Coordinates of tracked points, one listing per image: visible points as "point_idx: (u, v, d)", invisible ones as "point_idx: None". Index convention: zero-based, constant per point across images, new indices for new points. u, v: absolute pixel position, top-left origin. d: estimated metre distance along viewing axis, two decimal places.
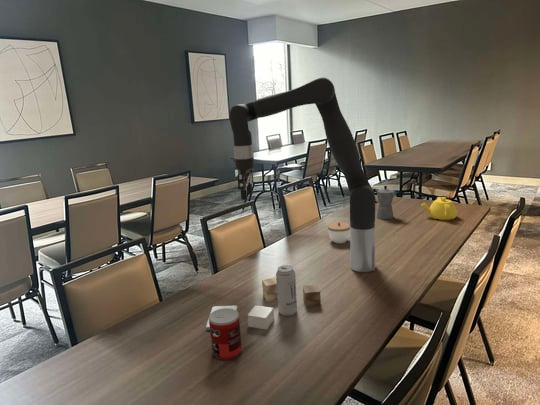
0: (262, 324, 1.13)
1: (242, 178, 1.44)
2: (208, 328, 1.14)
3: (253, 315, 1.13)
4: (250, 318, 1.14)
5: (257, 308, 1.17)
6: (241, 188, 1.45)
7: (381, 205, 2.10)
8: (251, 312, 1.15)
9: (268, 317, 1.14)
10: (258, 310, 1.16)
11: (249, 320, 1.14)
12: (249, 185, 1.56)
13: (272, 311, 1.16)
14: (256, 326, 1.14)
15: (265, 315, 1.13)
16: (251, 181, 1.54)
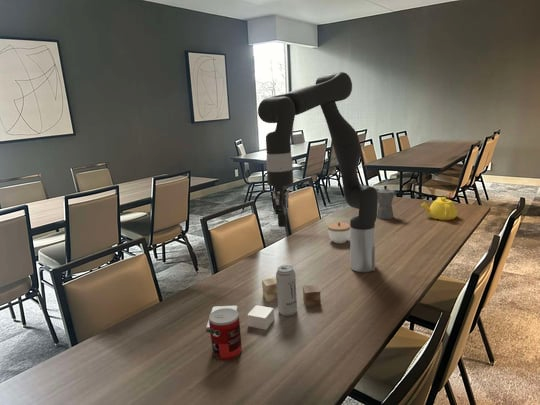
0: (261, 324, 1.13)
1: (280, 204, 1.07)
2: (209, 328, 1.14)
3: (252, 315, 1.13)
4: (249, 318, 1.14)
5: (257, 308, 1.17)
6: (279, 212, 1.10)
7: (381, 205, 2.10)
8: (251, 312, 1.15)
9: (268, 317, 1.13)
10: (258, 310, 1.16)
11: (249, 320, 1.14)
12: None
13: (272, 311, 1.16)
14: (256, 326, 1.14)
15: (265, 315, 1.13)
16: (287, 203, 1.13)
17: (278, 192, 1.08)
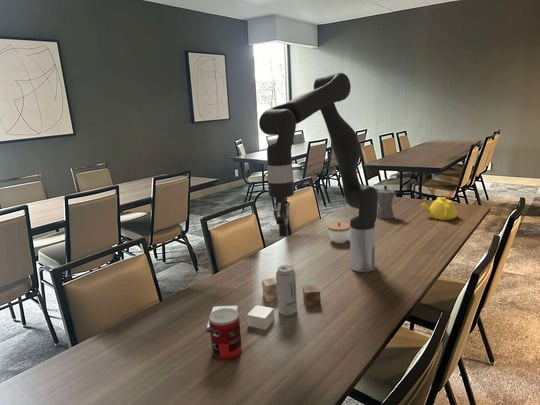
0: (261, 324, 1.13)
1: (281, 216, 1.08)
2: (209, 328, 1.14)
3: (252, 315, 1.13)
4: (249, 318, 1.14)
5: (257, 308, 1.17)
6: (281, 222, 1.11)
7: (381, 205, 2.10)
8: (251, 312, 1.15)
9: (268, 317, 1.13)
10: (259, 310, 1.16)
11: (249, 320, 1.14)
12: None
13: (272, 311, 1.16)
14: (256, 326, 1.14)
15: (265, 315, 1.13)
16: (287, 214, 1.14)
17: (279, 204, 1.09)
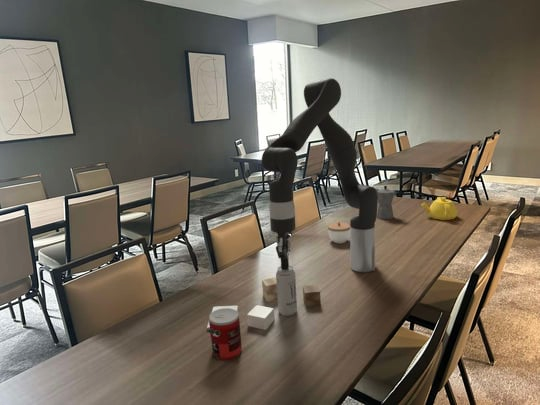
0: (261, 324, 1.13)
1: (283, 251, 1.11)
2: (209, 328, 1.14)
3: (252, 315, 1.13)
4: (249, 318, 1.14)
5: (257, 308, 1.17)
6: (282, 257, 1.14)
7: (381, 205, 2.10)
8: (251, 312, 1.15)
9: (267, 317, 1.13)
10: (259, 310, 1.16)
11: (249, 320, 1.14)
12: None
13: (272, 311, 1.16)
14: (255, 326, 1.14)
15: (264, 315, 1.13)
16: (289, 248, 1.16)
17: (281, 239, 1.12)
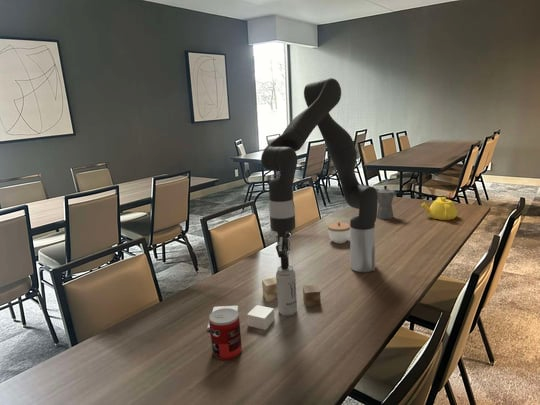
0: (261, 324, 1.13)
1: (283, 250, 1.11)
2: None
3: (252, 315, 1.13)
4: (249, 317, 1.14)
5: (258, 308, 1.17)
6: (282, 256, 1.14)
7: (381, 205, 2.10)
8: (251, 312, 1.15)
9: (267, 317, 1.13)
10: (259, 310, 1.16)
11: (249, 319, 1.14)
12: None
13: (272, 312, 1.16)
14: (255, 326, 1.14)
15: (264, 315, 1.13)
16: (289, 247, 1.16)
17: (281, 238, 1.12)
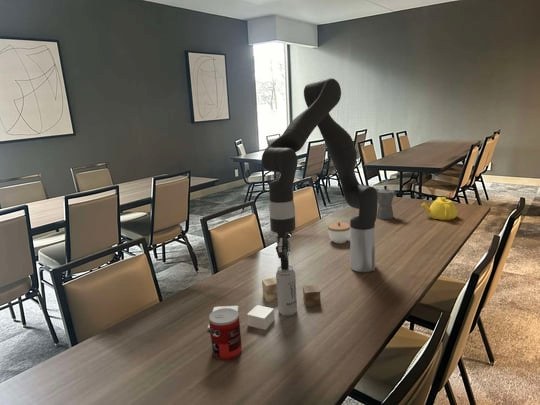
0: (260, 324, 1.13)
1: (283, 251, 1.11)
2: None
3: (252, 315, 1.14)
4: (249, 317, 1.14)
5: (258, 308, 1.17)
6: (282, 257, 1.14)
7: (381, 205, 2.10)
8: (251, 311, 1.16)
9: (267, 318, 1.13)
10: (259, 310, 1.16)
11: (248, 319, 1.15)
12: None
13: (272, 312, 1.16)
14: (255, 326, 1.14)
15: (264, 315, 1.13)
16: (289, 248, 1.16)
17: (281, 239, 1.12)
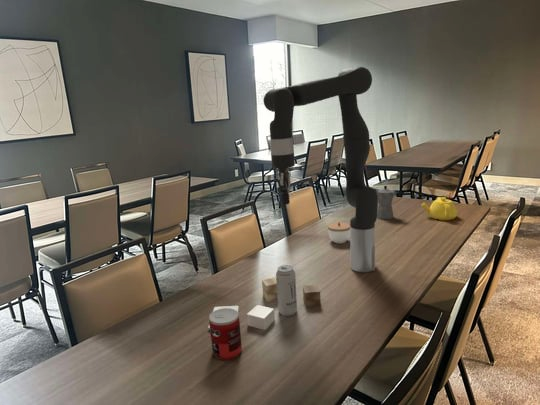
0: (260, 324, 1.13)
1: (284, 184, 1.21)
2: None
3: (252, 315, 1.14)
4: (249, 317, 1.14)
5: (258, 308, 1.17)
6: (284, 191, 1.24)
7: (381, 205, 2.10)
8: (251, 311, 1.16)
9: (267, 318, 1.13)
10: (259, 310, 1.16)
11: (248, 319, 1.15)
12: None
13: (272, 312, 1.16)
14: (255, 326, 1.14)
15: (264, 315, 1.13)
16: None
17: (282, 174, 1.21)
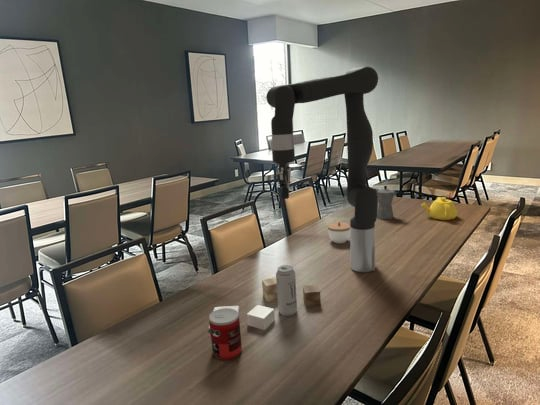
0: (260, 324, 1.13)
1: (284, 179, 1.24)
2: None
3: (252, 315, 1.14)
4: (249, 317, 1.14)
5: (258, 308, 1.17)
6: (283, 185, 1.27)
7: (381, 205, 2.10)
8: (251, 311, 1.16)
9: (267, 318, 1.13)
10: (259, 310, 1.16)
11: (248, 319, 1.15)
12: None
13: (272, 312, 1.16)
14: (255, 326, 1.14)
15: (264, 315, 1.13)
16: (289, 179, 1.29)
17: (282, 168, 1.25)
